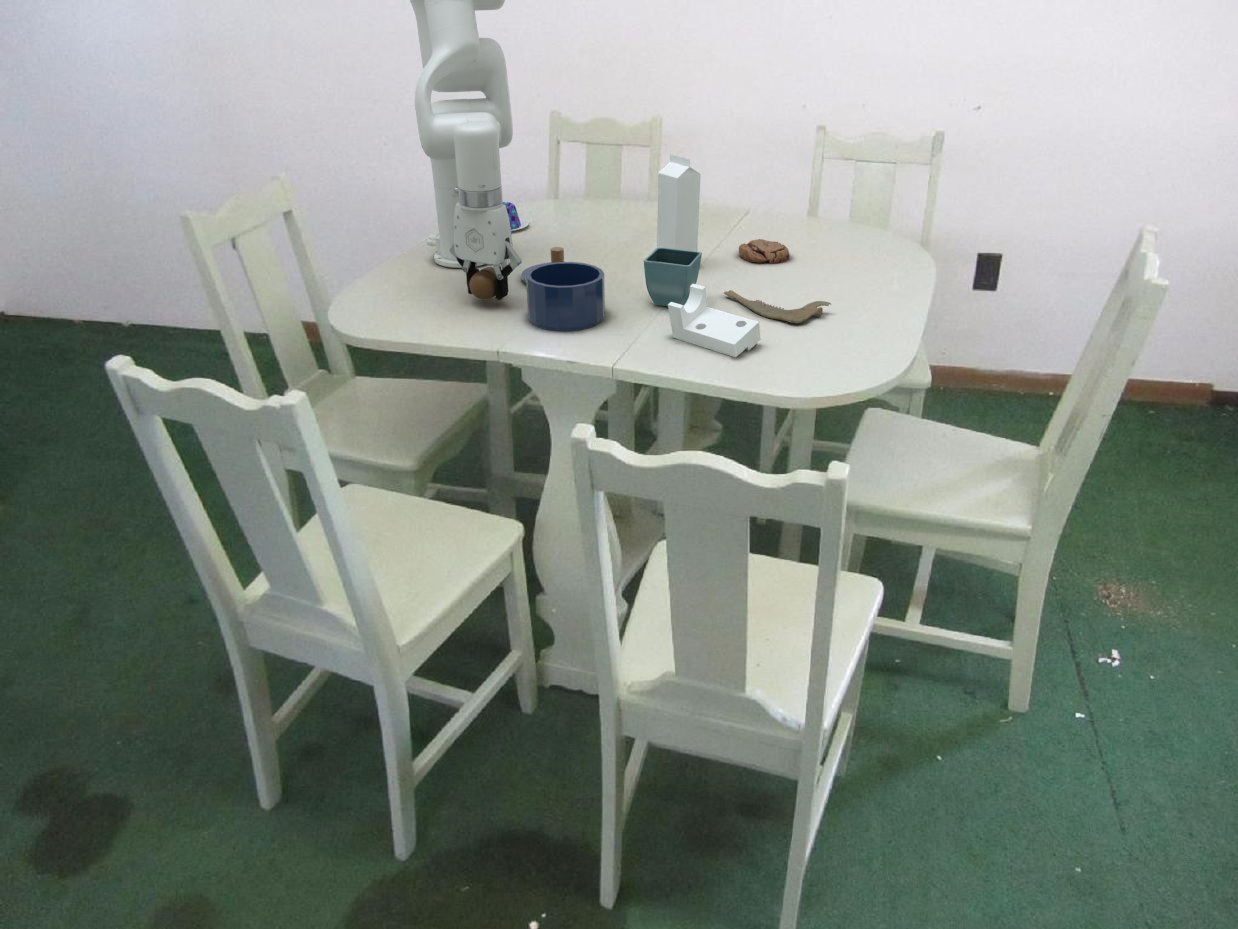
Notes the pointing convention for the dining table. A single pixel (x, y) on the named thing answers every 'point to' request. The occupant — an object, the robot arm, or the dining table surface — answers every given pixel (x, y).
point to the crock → (565, 296)
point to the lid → (556, 256)
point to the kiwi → (483, 283)
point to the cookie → (764, 251)
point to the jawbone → (779, 313)
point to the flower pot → (671, 274)
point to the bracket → (711, 325)
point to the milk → (678, 205)
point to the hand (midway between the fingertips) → (488, 293)
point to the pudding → (514, 217)
